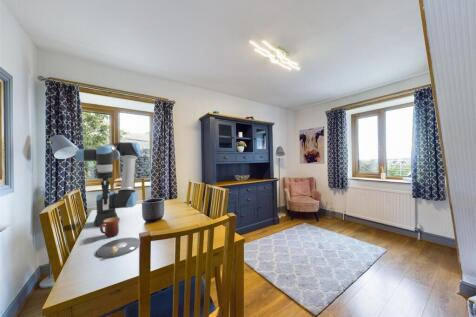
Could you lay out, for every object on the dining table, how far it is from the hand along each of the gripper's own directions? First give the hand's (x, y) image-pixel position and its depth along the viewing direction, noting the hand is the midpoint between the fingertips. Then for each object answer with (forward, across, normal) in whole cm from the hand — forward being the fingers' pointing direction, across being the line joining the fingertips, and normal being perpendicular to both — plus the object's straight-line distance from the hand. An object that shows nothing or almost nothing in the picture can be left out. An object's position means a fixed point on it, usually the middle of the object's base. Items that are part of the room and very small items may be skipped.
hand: (106, 206), depth 111 cm
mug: (+21, -5, +1) cm, 21 cm away
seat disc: (+20, +15, +6) cm, 26 cm away
